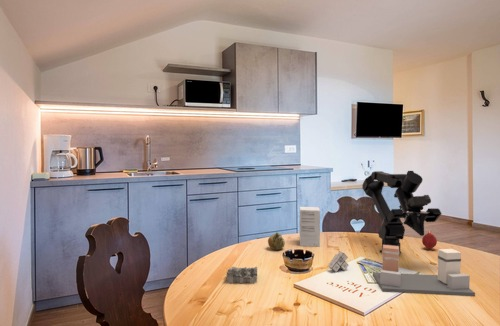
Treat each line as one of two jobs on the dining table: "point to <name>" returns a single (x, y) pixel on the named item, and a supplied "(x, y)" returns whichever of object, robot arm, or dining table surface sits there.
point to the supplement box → (310, 226)
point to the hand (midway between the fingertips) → (422, 235)
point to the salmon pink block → (390, 258)
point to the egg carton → (237, 273)
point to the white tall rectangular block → (448, 263)
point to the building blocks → (338, 262)
